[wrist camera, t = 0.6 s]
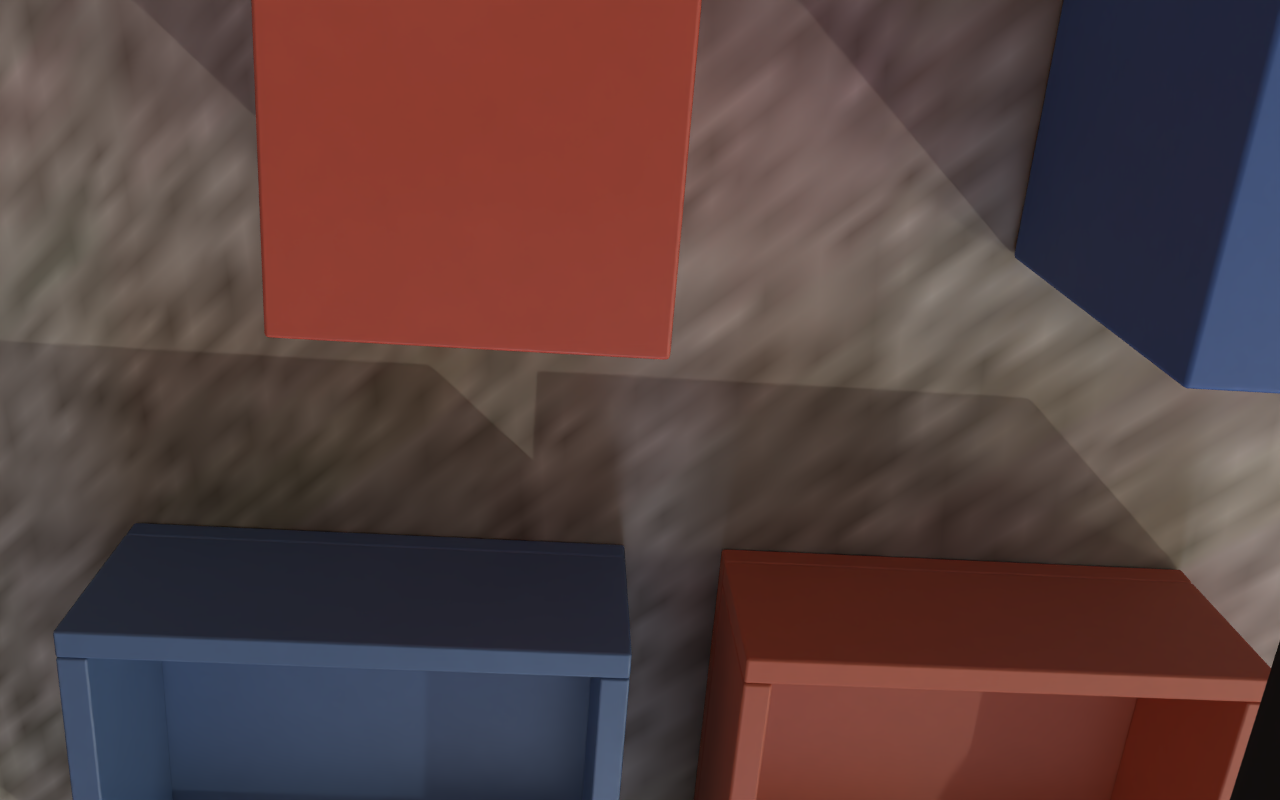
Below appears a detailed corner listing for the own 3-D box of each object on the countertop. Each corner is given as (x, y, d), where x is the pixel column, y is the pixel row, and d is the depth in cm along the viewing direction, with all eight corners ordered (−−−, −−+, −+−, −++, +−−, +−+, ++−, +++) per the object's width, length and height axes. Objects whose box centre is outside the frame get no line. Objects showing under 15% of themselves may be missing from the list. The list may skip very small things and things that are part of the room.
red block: (354, -94, 23) (245, -103, 16) (667, -69, 23) (708, -66, 16) (357, 216, 25) (263, 338, 18) (644, 234, 26) (669, 361, 18)
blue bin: (134, 522, 27) (51, 631, 23) (624, 543, 28) (631, 654, 24) (167, 904, 32) (102, 1057, 27) (595, 914, 32) (596, 1065, 28)
